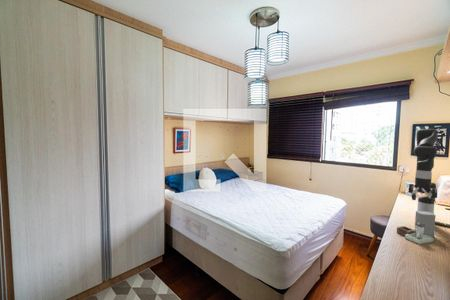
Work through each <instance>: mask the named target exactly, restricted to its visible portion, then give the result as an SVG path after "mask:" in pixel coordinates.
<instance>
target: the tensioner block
mask: <svg viewBox="0 0 450 300" xmlns="http://www.w3.org/2000/svg"><path fill="white" fill-rule="evenodd" d="M396 233H397V234H399V235H402V236H404V237H405V235H406V234H412V233H415V229H413V228H410V227H407V226H397V227H396Z"/></svg>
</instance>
